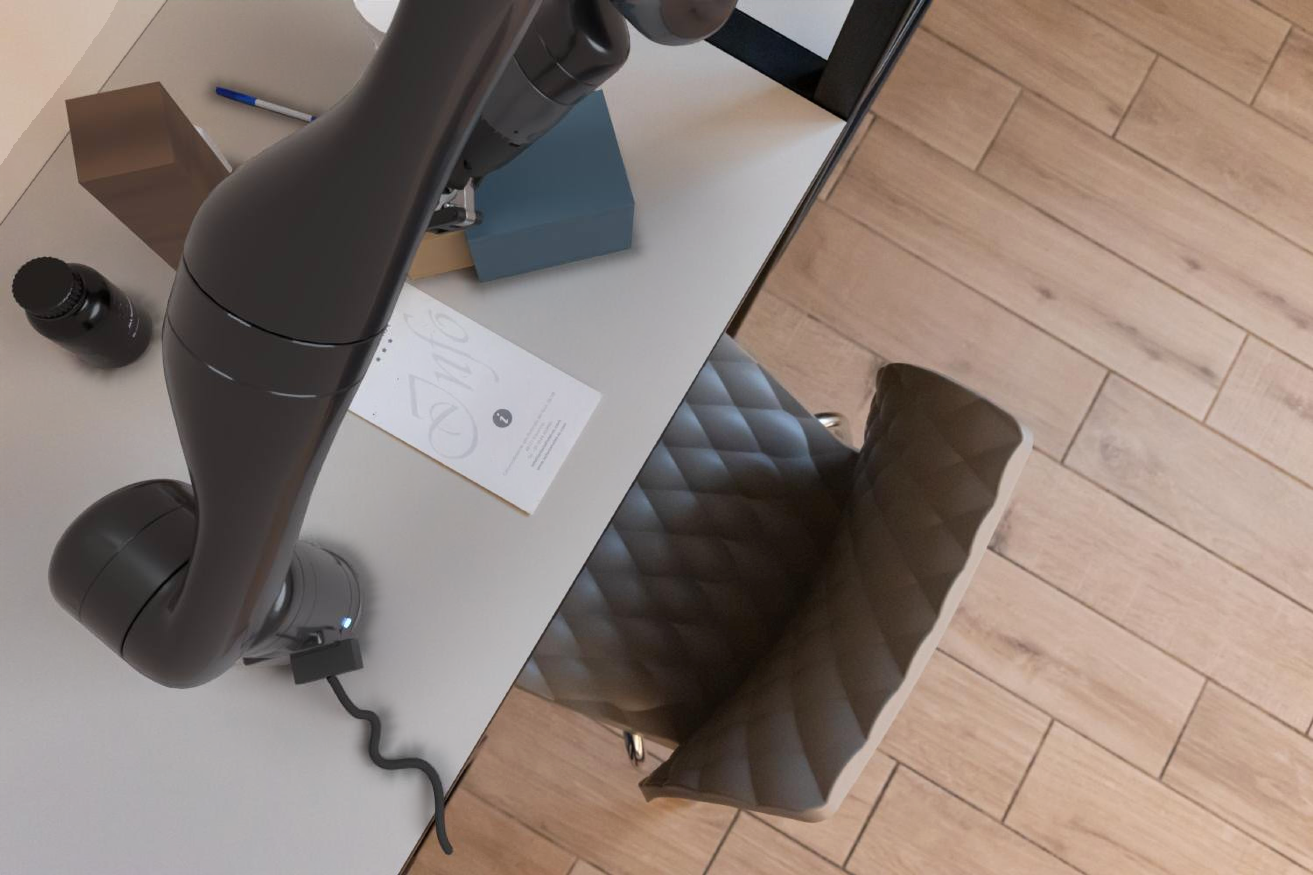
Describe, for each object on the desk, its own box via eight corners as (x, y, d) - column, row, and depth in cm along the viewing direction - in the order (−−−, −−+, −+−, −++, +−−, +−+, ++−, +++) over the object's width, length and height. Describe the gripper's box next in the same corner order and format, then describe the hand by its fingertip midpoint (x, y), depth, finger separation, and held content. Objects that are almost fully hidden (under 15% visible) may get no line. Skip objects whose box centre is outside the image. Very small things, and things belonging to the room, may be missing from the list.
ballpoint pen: (215, 97, 94) (211, 91, 93) (218, 89, 94) (214, 83, 93) (320, 126, 94) (317, 120, 93) (323, 118, 94) (320, 112, 93)
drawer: (329, 307, 89) (304, 275, 82) (308, 209, 91) (282, 169, 84) (530, 261, 91) (524, 225, 84) (506, 167, 93) (497, 123, 86)
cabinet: (480, 283, 91) (466, 240, 82) (454, 177, 94) (437, 123, 84) (631, 248, 93) (634, 202, 84) (602, 144, 95) (602, 89, 86)
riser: (303, 312, 90) (174, 162, 63) (237, 328, 89) (77, 183, 62) (291, 253, 91) (159, 80, 64) (226, 268, 90) (64, 99, 63)
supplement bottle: (171, 333, 89) (106, 284, 77) (111, 386, 87) (36, 344, 76) (120, 283, 90) (48, 227, 78) (60, 335, 88) (-22, 285, 77)
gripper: (447, -2, 72) (327, 120, 82) (491, 171, 69) (361, 275, 80) (524, 28, 78) (402, 139, 88) (567, 189, 75) (437, 284, 85)
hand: (383, 203), depth 84 cm, fingers closed on chocolate carton, 4 cm apart
